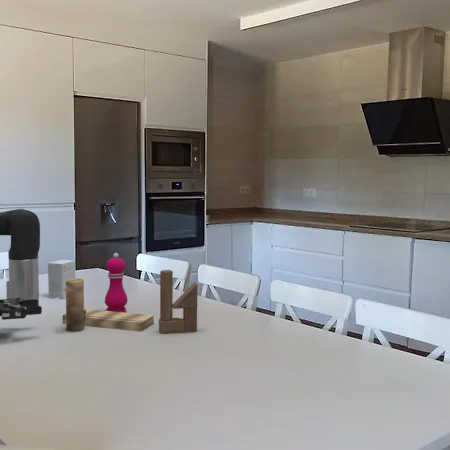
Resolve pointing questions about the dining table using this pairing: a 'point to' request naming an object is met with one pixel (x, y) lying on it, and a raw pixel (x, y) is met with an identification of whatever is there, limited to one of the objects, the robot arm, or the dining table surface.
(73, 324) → the wooden cylinder yellow top
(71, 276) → the small box
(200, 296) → the dining table surface
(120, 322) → the board
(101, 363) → the dining table surface
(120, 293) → the pepper mill
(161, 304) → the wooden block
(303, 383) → the dining table surface
